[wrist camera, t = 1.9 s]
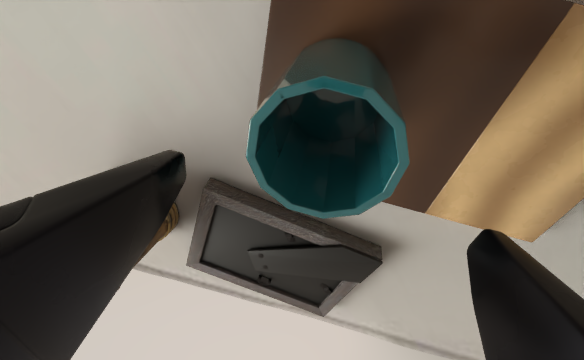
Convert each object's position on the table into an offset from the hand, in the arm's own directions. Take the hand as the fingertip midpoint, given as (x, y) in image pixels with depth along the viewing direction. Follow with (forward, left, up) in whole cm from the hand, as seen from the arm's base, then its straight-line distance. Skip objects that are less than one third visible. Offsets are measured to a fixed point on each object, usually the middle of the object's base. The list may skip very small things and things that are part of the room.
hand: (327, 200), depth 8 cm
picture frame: (+1, +20, -13) cm, 24 cm away
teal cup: (0, +1, -12) cm, 12 cm away
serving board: (-7, +1, -13) cm, 15 cm away
